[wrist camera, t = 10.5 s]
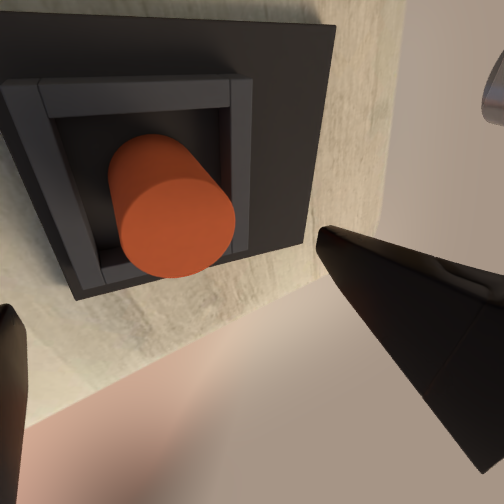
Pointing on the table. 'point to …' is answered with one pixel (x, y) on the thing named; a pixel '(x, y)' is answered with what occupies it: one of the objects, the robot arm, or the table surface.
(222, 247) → the orange cylinder
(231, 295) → the table surface
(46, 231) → the base pad
